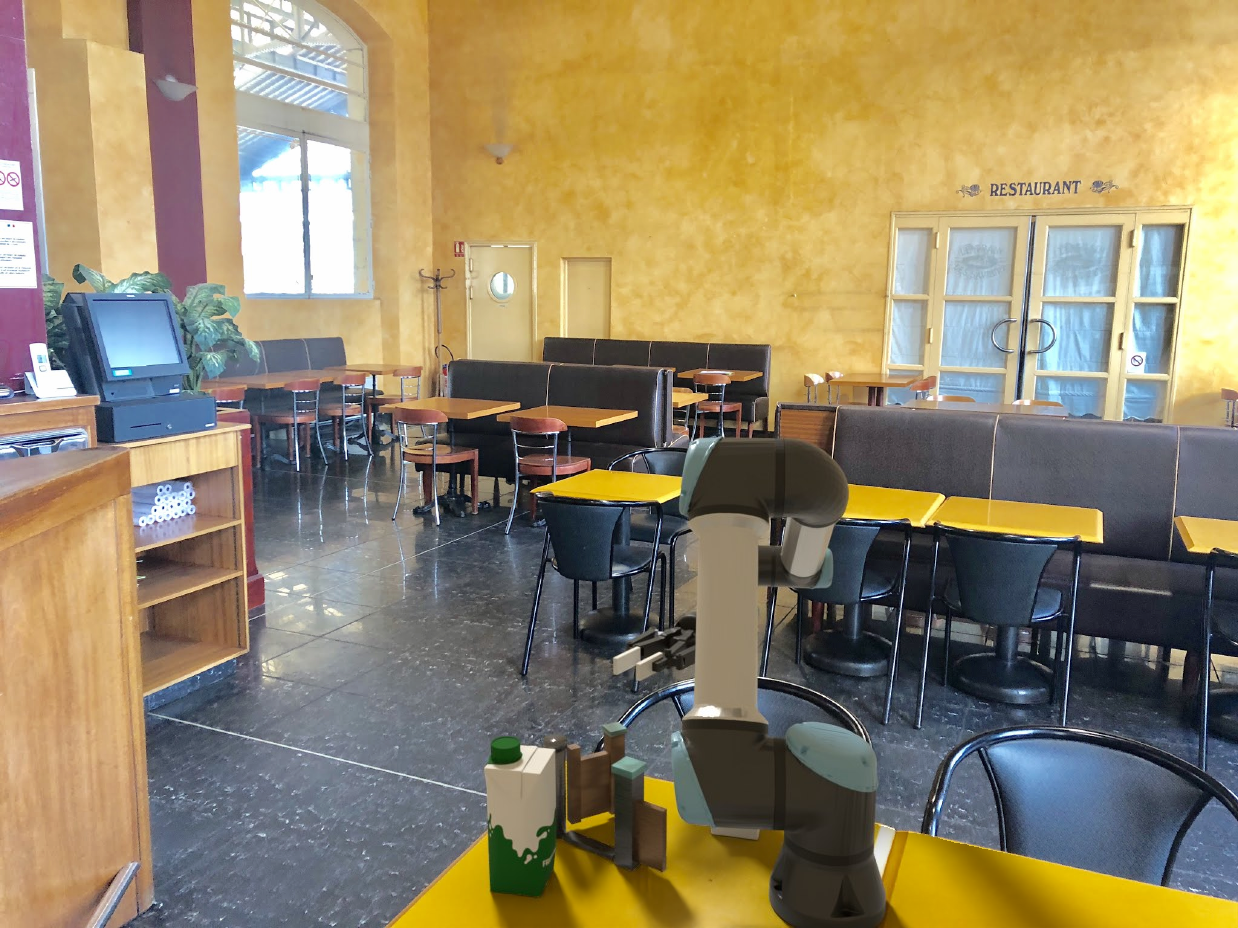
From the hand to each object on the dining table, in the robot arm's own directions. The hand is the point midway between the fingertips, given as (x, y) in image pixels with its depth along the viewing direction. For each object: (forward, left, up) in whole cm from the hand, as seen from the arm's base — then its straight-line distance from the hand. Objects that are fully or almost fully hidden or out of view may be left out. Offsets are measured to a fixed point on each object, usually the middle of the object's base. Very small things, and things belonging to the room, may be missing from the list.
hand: (626, 669), depth 149 cm
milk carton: (-1, +27, -22) cm, 35 cm away
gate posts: (-6, +15, -22) cm, 27 cm away
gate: (0, +8, -21) cm, 22 cm away
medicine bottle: (-18, -3, -22) cm, 29 cm away
